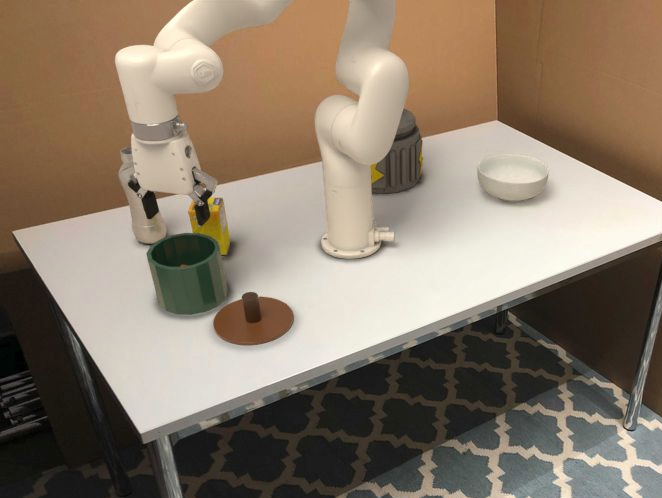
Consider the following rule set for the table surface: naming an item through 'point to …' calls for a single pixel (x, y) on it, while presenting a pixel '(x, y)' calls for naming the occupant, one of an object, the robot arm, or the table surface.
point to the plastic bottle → (140, 208)
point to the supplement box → (213, 223)
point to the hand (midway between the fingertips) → (178, 218)
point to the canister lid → (253, 320)
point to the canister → (187, 273)
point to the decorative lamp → (400, 159)
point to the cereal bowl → (512, 176)
